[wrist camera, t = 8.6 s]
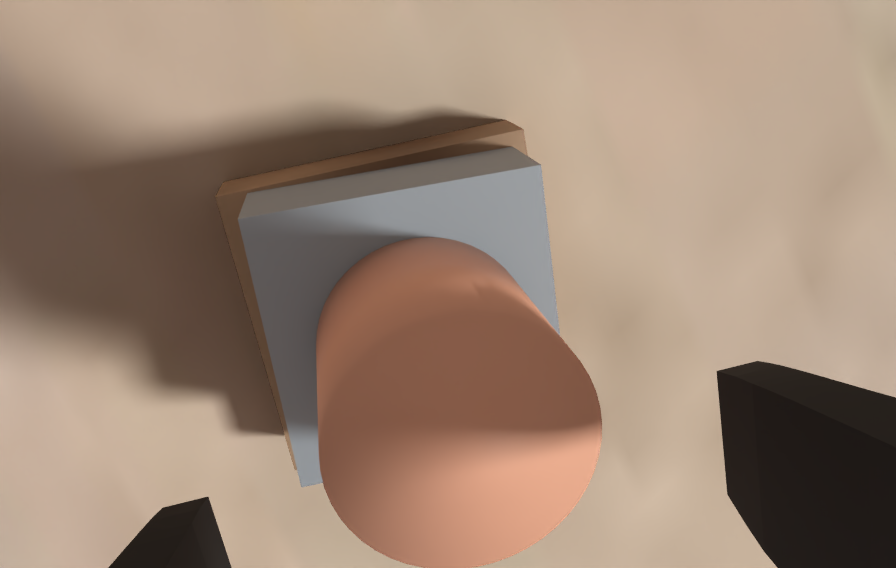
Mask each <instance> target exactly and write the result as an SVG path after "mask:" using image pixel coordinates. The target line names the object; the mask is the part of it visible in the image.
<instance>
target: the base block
mask: <svg viewBox="0 0 896 568" xmlns="http://www.w3.org/2000/svg"><path fill="white" fill-rule="evenodd" d="M512 146H513V147H514V148H516V149H517V150H519V151H520V152H522V153H523V154H525V155H526V156H528V155H527V149H526V142H525V136H524V130H523V129H522V128H520V127H518V126H516V125H515V124H513V123H511V122H509V121H507V120H503V121H498V122H494V123H489V124H485V125H480V126H476V127H471V128H466V129H462V130H457V131H453V132H448V133H444V134H439V135H435V136H430V137H425V138H421V139H416V140H412V141H407V142H403V143H398V144H394V145H389V146H384V147H380V148H375V149H371V150H366V151H362V152H357V153H353V154H348V155H343V156H339V157H334V158H330V159H325V160H321V161H316V162H312V163H307V164H303V165H298V166H293V167H289V168H284V169H280V170H275V171H271V172H266V173H262V174H257V175H252V176H248V177H243V178H239V179H234V180H230V181H225V182H223V184H222V185H221V187H220V189H219V191H218V193H217V195H216V196H215V198H216V202H217V205H218V209H219V212H220V215H221V219H222V222H223V226H224V229H225V233H226V236H227V239H228V243H229V246H230V250H231V253H232V256H233V260H234V263H235V267H236V270H237V274H238V277H239V280H240V284H241V287H242V291H243V294H244V298H245V301H246V304H247V308H248V311H249V315H250V318H251V321H252V325H253V328H254V332H255V335H256V339H257V342H258V345H259V349H260V352H261V356H262V359H263V363H264V366H265V369H266V373H267V376H268V380H269V383H270V387H271V390H272V393H273V397H274V400H275V404H276V407H277V410H278V414H279V417H280V421H281V424H282V428H283V431H284V434H285V438H286V441H287V445H288V448H289V452H290V455H291V458H292V462H293V465H294V469H295V470H297V467H296V462H295V458H294V454H293V450H292V445H291V441H290V437H289V433H288V429H287V424H286V420H285V416H284V412H283V408H282V403H281V399H280V395H279V391H278V386H277V382H276V378H275V374H274V370H273V365H272V361H271V357H270V353H269V349H268V344H267V340H266V336H265V332H264V327H263V323H262V319H261V315H260V311H259V306H258V302H257V298H256V294H255V290H254V285H253V281H252V277H251V273H250V268H249V264H248V260H247V256H246V252H245V247H244V243H243V239H242V235H241V231H240V226H239V222H238V217H239V214H240V212H241V209H242V206H243V203H244V201H245V198H246V195H247V193H250V192H256V191H261V190H267V189H273V188H278V187H284V186H290V185H296V184H301V183H307V182H313V181H318V180H324V179H330V178H335V177H341V176H347V175H353V174H358V173H364V172H370V171H375V170H381V169H387V168H392V167H398V166H404V165H409V164H415V163H421V162H427V161H432V160H438V159H444V158H449V157H455V156H461V155H466V154H472V153H478V152H484V151H489V150H495V149H501V148H506V147H512Z"/></svg>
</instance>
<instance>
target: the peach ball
mask: <svg viewBox="0 0 896 568" xmlns="http://www.w3.org/2000/svg"><path fill="white" fill-rule="evenodd" d="M316 368H317V408H318V449H319V463H320V472H321V476H322V480H323V484H324V488H325V490H326V493H327V495H328V498H329V500H330V502H331V504H332V506H333V507H334V509H335V511H336V512H337V514H338V516H339V517H340V519H341V520H342V521H343V522H344V523H345V525H346V526H347V527H348V528H349V530H351V531H352V532H353V533H354V534H355V535H356V536H357V537H358V538H359V539H360V540H361V541H363V542H364V543H366V544H367V545H369V546H370V547H371V548H373V549H374V550H376V551H378V552H380V553H382V554H384V555H386V556H388V557H390V558H392V559H395V560H397V561H400V562H403V563H406V564H410V565H414V566H419V567H423V568H471V567H478V566H482V565H486V564H490V563H494V562H497V561H499V560H502V559H505V558H508V557H510V556H513V555H515V554H517V553H519V552H521V551H523V550H525V549H527V548H528V547H530V546H531V545H533V544H535V543H536V542H538V541H539V540H541V539H542V538H543V537H545V536H546V535H547V534H548V533H550V532H551V531H552V530H553V529H555V528H556V527H557V526H558V525H559V524H560V523H561V522H562V521H563V520H564V519H565V518H566V517H567V516H568V514H569V513H570V512H571V510H572V509H573V508H574V507H575V505H576V504H577V503H578V501H579V500H580V498H581V496H582V495H583V493H584V492H585V490H586V488H587V486H588V484H589V482H590V480H591V477H592V475H593V473H594V470H595V467H596V464H597V460H598V457H599V452H600V446H601V440H602V419H601V410H600V405H599V401H598V397H597V393H596V390H595V388H594V385H593V383H592V381H591V379H590V376H589V374H588V373H587V371H586V370H585V368H584V366H583V365H582V363H581V362H580V360H579V359H578V358H577V357H576V355H575V354H574V353H573V352H572V350H571V349H570V348H569V347H568V345H567V344H566V343H565V342H564V340H563V339H562V338H561V337H560V336H559V334H558V333H557V332H556V331H555V329H554V328H553V327H552V326H551V324H550V323H549V322H548V321H547V319H546V318H545V317H544V316H543V314H542V313H541V312H540V311H539V309H538V308H537V307H536V306H535V304H534V303H533V302H532V301H531V300H530V298H529V297H528V296H527V295H526V293H525V292H524V291H523V290H522V288H521V287H520V286H519V285H518V283H517V282H516V281H515V280H514V278H513V277H512V276H511V275H510V274H509V272H508V271H507V270H506V269H505V268H504V267H503V266H502V265H501V264H500V263H499V262H497V261H496V260H495V259H494V258H492V257H491V256H490V255H488V254H487V253H485V252H484V251H482V250H480V249H478V248H476V247H473V246H471V245H469V244H466V243H463V242H460V241H456V240H451V239H446V238H435V237H423V238H412V239H407V240H402V241H398V242H395V243H392V244H389V245H386V246H384V247H382V248H379V249H377V250H375V251H373V252H371V253H370V254H368V255H367V256H365V257H364V258H362V259H361V260H359V261H358V262H357V263H356V264H355V265H353V266H352V267H351V268H350V269H349V270H348V271H347V272H346V273H345V274H344V275H343V276H342V277H341V278H340V280H339V281H338V282H337V284H336V285H335V286H334V288H333V289H332V291H331V292H330V294H329V296H328V298H327V300H326V302H325V304H324V306H323V309H322V312H321V315H320V318H319V323H318V328H317V335H316Z"/></svg>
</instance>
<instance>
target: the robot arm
mask: <svg viewBox="0 0 896 568" xmlns="http://www.w3.org/2000/svg"><path fill="white" fill-rule="evenodd" d="M717 380H718V391H719V403H720V414H721V426H722V437H723V449H724V460H725V471H726V483H727V494H728V496H729V498H730V499H731V501H732V503H733V504H734V506H735V507H736V509H737V511H738V512H739V514H740V515H741V517H742V519H743V520H744V522H745V523H746V525H747V527H748V528H749V530H750V531H751V533H752V534H753V536H754V537H755V538H756V540H757V541H758V543H759V544H760V546H761V547H762V549H763V550H764V552H765V553H766V554H767V555H768V557H769V558H770V559H771V560H772V561H773V563H774V564H775V565H776V566H777V567H778V568H896V398H895V397H891V396H888V395H884V394H881V393H877V392H874V391H870V390H866V389H863V388H859V387H856V386H853V385H849V384H846V383H842V382H839V381H835V380H832V379H828V378H825V377H821V376H818V375H814V374H811V373H807V372H804V371H800V370H796V369H792V368H789V367H785V366H780V365H776V364H771V363H766V362H760V361H756V362H752V363H748V364H744V365H740V366H736V367H732V368H728V369H724V370H719V371H717ZM109 568H231V565H230V562H229V559H228V556H227V553H226V550H225V547H224V544H223V541H222V537H221V534H220V531H219V528H218V525H217V522H216V519H215V516H214V513H213V510H212V507H211V504H210V501H209V498H208V497H205V498H201V499H197V500H193V501H189V502H184V503H180V504H176V505H172V506H168V507H164V508H162V509H161V510H160V511H159V512H158V513H157V514H156V515H155V516H154V517H153V518H152V519H151V520H150V521H149V522H148V523H147V524H146V525H145V527H144V528H143V529H142V530H141V531H140V532H139V533H138V534H137V536H136V537H135V538H134V539H133V540H132V541H131V542H130V544H129V545H128V546H127V547H126V548H125V549H124V550H123V552H122V553H121V554H120V555H119V556H118V557H117V559H116V560H115V561H114V562H113V563H112V564H111V565H110V566H109Z"/></svg>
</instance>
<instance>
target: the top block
mask: <svg viewBox="0 0 896 568" xmlns="http://www.w3.org/2000/svg"><path fill="white" fill-rule="evenodd" d="M238 222H239V226H240V231H241V235H242V239H243V243H244V247H245V252H246V256H247V260H248V264H249V268H250V273H251V277H252V281H253V285H254V290H255V294H256V298H257V302H258V306H259V311H260V315H261V319H262V323H263V327H264V332H265V336H266V340H267V344H268V349H269V353H270V357H271V361H272V365H273V370H274V374H275V378H276V382H277V386H278V391H279V395H280V399H281V403H282V408H283V412H284V416H285V420H286V424H287V429H288V433H289V437H290V441H291V445H292V450H293V454H294V458H295V462H296V467H297V471H298V475H299V479H300V483H301V487H305V486H310V485H315V484H320V483H323V480H322V476H321V472H320V463H319V449H318V408H317V368H316V335H317V328H318V323H319V318H320V315H321V312H322V309H323V306H324V304H325V302H326V300H327V298H328V296H329V294H330V292H331V291H332V289H333V288H334V286H335V285H336V284H337V282H338V281H339V280H340V278H341V277H342V276H343V275H344V274H345V273H346V272H347V271H348V270H349V269H350V268H351V267H352V266H353V265H355V264H356V263H357V262H358V261H359V260H361V259H362V258H364V257H365V256H367V255H368V254H370V253H371V252H373V251H375V250H377V249H379V248H382V247H384V246H386V245H389V244H392V243H395V242H398V241H402V240H407V239H412V238H423V237H435V238H446V239H451V240H456V241H460V242H463V243H466V244H469V245H471V246H473V247H476V248H478V249H480V250H482V251H484V252H485V253H487V254H488V255H490V256H491V257H492V258H494V259H495V260H496V261H497V262H499V263H500V264H501V265H502V266H503V267H504V268H505V269H506V270H507V271H508V272H509V274H510V275H511V276H512V277H513V278H514V280H515V281H516V282H517V283H518V285H519V286H520V287H521V288H522V290H523V291H524V292H525V293H526V295H527V296H528V297H529V298H530V300H531V301H532V302H533V303H534V304H535V306H536V307H537V308H538V309H539V311H540V312H541V313H542V314H543V316H544V317H545V318H546V319H547V321H548V322H549V323H550V324H551V326H552V327H553V328H554V329H555V331H556V332H557V333H558V334H559V336H560V331H559V322H558V314H557V305H556V296H555V287H554V278H553V269H552V260H551V251H550V242H549V233H548V224H547V215H546V206H545V197H544V188H543V179H542V170H541V165H540V164H539V163H537V162H536V161H534V160H533V159H531V158H530V157H528V156H526V155H525V154H523V153H522V152H520V151H519V150H517V149H516V148H514V147H513V146H512V147H506V148H501V149H495V150H489V151H484V152H478V153H472V154H466V155H461V156H455V157H449V158H444V159H438V160H432V161H427V162H421V163H415V164H409V165H404V166H398V167H392V168H387V169H381V170H375V171H370V172H364V173H358V174H353V175H347V176H341V177H335V178H330V179H324V180H318V181H313V182H307V183H301V184H296V185H290V186H284V187H278V188H273V189H267V190H261V191H256V192H250V193H247V195H246V198H245V201H244V203H243V206H242V209H241V212H240V214H239V217H238Z"/></svg>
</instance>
